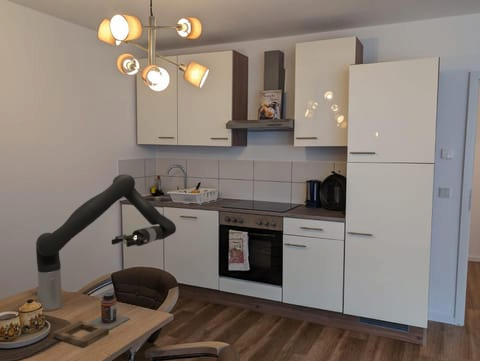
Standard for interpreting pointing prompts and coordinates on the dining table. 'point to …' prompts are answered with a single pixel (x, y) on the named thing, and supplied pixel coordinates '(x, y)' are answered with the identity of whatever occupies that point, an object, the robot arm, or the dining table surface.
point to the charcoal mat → (111, 325)
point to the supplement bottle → (108, 308)
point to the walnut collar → (86, 340)
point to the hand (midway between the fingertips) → (119, 243)
